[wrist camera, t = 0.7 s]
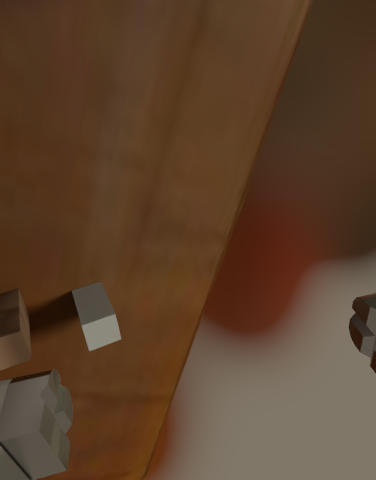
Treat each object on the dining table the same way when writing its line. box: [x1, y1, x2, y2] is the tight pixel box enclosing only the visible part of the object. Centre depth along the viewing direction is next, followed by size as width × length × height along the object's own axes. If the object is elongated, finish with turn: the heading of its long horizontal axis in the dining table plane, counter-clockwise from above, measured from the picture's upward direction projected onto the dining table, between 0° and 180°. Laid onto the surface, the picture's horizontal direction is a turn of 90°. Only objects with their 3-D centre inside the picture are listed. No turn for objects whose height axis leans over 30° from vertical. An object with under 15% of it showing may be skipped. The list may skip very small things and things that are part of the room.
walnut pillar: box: [0, 289, 32, 370], centre depth 44 cm, size 4×4×10 cm
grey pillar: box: [72, 282, 121, 351], centre depth 50 cm, size 4×4×9 cm
